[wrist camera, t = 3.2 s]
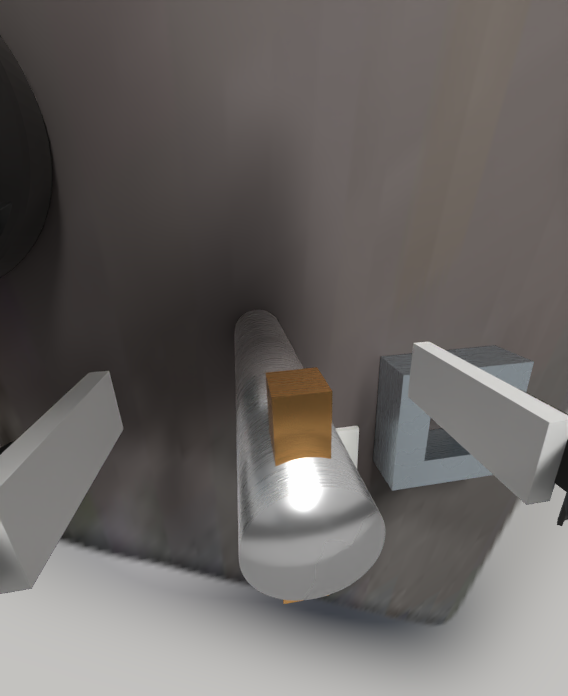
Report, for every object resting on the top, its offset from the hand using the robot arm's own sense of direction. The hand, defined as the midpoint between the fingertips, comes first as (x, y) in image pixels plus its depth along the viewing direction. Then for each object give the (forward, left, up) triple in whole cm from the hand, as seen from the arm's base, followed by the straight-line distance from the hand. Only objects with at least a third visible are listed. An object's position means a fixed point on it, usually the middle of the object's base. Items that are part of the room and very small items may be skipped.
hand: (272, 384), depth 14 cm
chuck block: (+13, -7, -7) cm, 16 cm away
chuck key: (0, 0, -7) cm, 7 cm away
